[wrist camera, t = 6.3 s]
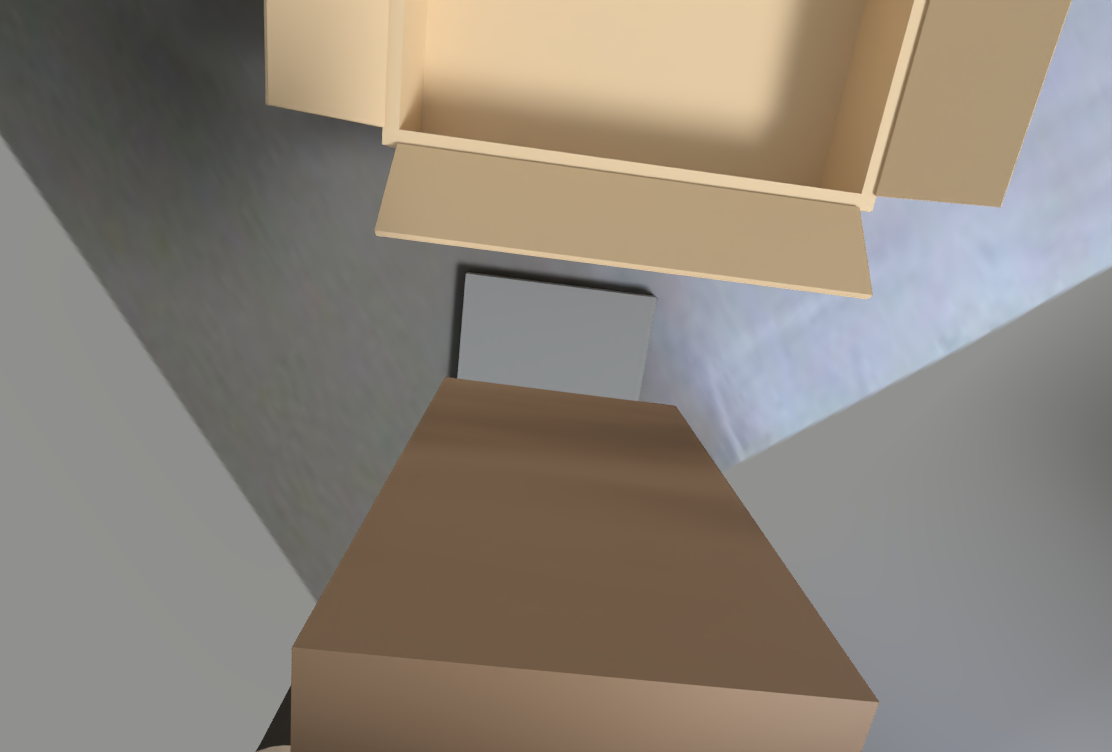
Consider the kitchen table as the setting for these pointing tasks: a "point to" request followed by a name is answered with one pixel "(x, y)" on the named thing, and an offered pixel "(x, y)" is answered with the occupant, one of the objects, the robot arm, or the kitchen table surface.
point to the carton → (672, 120)
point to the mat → (554, 336)
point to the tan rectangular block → (566, 598)
